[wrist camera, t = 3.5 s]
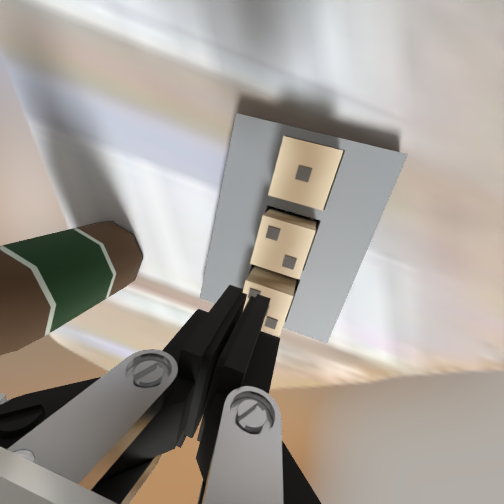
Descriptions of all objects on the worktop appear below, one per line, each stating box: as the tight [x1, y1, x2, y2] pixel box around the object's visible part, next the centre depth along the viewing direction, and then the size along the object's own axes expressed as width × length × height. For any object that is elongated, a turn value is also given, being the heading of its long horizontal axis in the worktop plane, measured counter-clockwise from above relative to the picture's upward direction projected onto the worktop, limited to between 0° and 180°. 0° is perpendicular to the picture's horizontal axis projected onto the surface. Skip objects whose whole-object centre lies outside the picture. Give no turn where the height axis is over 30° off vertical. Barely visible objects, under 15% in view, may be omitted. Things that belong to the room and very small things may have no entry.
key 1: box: [268, 136, 343, 211], centre depth 19 cm, size 4×4×4 cm
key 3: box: [243, 265, 297, 337], centre depth 23 cm, size 4×4×4 cm
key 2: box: [250, 209, 316, 279], centre depth 21 cm, size 4×4×4 cm
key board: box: [200, 113, 408, 343], centre depth 23 cm, size 13×17×2 cm
